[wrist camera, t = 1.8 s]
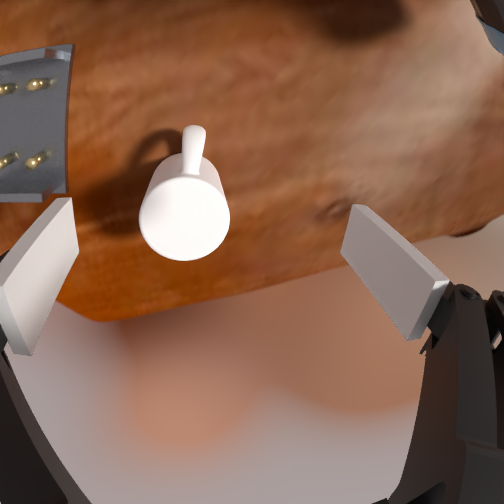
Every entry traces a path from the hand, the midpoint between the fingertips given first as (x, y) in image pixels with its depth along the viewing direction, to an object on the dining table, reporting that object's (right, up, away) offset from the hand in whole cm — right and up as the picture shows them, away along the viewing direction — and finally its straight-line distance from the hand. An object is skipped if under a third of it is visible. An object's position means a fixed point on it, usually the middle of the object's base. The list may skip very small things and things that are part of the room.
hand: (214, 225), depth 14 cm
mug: (-6, +8, +22) cm, 24 cm away
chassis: (-25, +14, +14) cm, 32 cm away
